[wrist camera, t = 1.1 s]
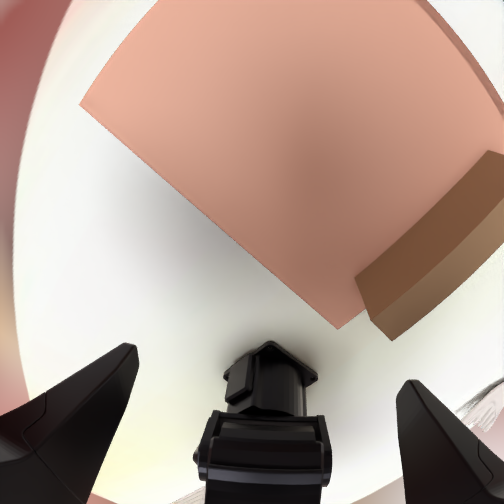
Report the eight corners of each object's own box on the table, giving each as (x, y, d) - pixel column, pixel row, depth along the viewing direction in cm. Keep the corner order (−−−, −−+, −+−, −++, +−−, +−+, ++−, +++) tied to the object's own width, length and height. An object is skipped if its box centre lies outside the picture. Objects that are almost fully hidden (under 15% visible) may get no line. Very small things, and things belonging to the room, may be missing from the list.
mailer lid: (505, 143, 12) (569, 164, 7) (332, 307, 17) (347, 375, 12) (288, -80, 8) (289, -138, 3) (100, 103, 13) (32, 108, 8)
